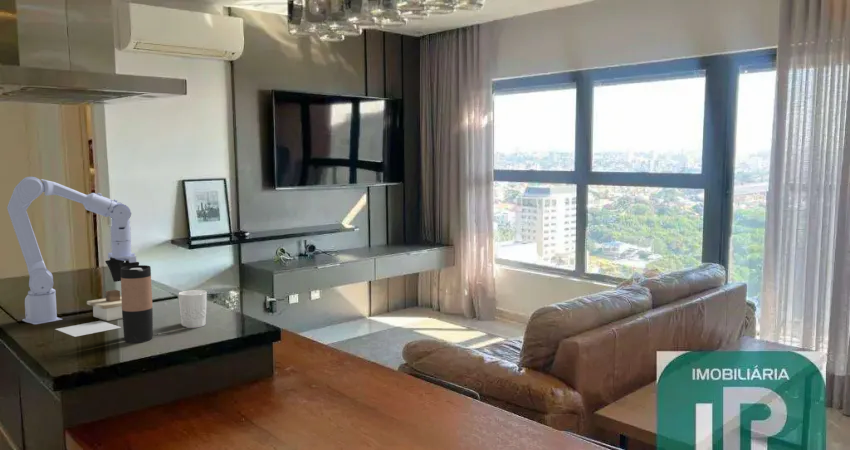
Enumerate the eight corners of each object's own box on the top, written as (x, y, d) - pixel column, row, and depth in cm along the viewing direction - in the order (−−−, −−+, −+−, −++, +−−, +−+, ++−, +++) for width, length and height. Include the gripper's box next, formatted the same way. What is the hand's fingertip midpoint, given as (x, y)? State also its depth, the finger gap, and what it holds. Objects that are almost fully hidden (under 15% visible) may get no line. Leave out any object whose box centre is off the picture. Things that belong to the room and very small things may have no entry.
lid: (86, 304, 198) (86, 291, 198) (121, 298, 207) (121, 286, 206) (103, 309, 191) (103, 296, 191) (139, 303, 200) (138, 290, 199)
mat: (54, 330, 183) (54, 329, 183) (100, 322, 194) (100, 320, 194) (75, 338, 175) (74, 336, 175) (121, 329, 186) (121, 327, 186)
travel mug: (129, 335, 178) (126, 265, 176) (157, 335, 179) (154, 265, 177) (118, 343, 171) (115, 269, 169) (148, 342, 171) (145, 269, 169)
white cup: (198, 329, 185) (197, 295, 184) (174, 328, 187) (172, 294, 186) (212, 322, 193) (211, 290, 192) (189, 321, 195) (188, 289, 194)
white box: (93, 318, 199) (92, 303, 198) (122, 312, 206) (121, 299, 205) (107, 322, 193) (106, 307, 193) (136, 317, 200) (135, 302, 200)
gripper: (144, 241, 202) (146, 283, 204) (122, 238, 211) (124, 278, 213) (122, 243, 197) (124, 286, 198) (100, 239, 206) (102, 281, 207)
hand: (123, 282), depth 205 cm, fingers open, 7 cm apart
